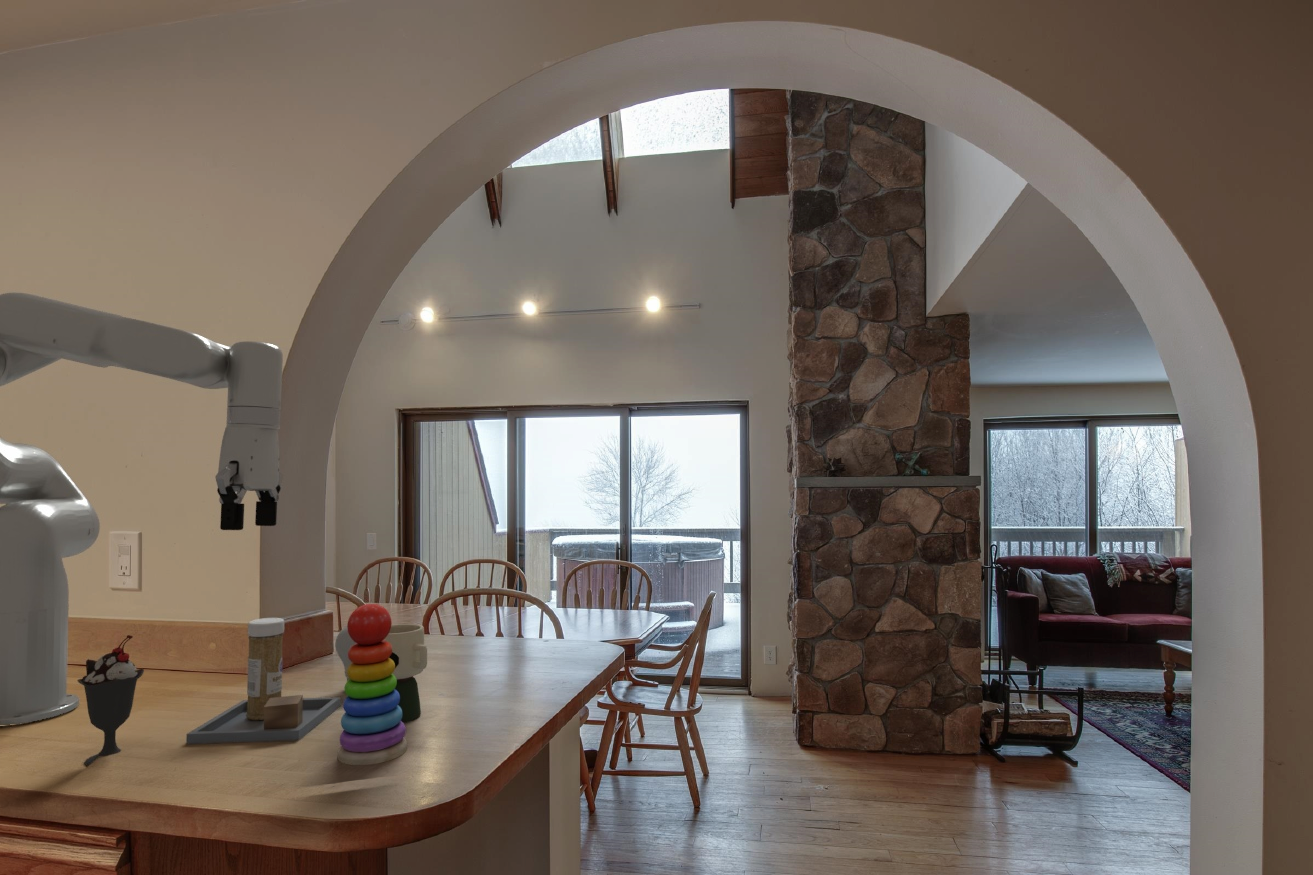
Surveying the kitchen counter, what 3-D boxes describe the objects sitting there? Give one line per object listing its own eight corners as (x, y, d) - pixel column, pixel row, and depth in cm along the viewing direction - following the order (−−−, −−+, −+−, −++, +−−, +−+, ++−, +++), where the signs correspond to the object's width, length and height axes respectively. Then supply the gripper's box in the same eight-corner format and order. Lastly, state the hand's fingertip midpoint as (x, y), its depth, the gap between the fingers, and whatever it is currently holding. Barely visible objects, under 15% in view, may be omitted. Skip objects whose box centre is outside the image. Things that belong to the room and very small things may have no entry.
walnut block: (263, 738, 94) (263, 706, 94) (269, 728, 98) (270, 697, 98) (297, 734, 95) (298, 703, 96) (302, 724, 99) (302, 694, 99)
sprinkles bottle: (284, 717, 102) (286, 620, 103) (246, 723, 100) (249, 624, 100) (279, 708, 106) (282, 615, 107) (243, 714, 104) (246, 618, 104)
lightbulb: (340, 701, 112) (340, 628, 112) (331, 692, 117) (331, 622, 117) (381, 693, 116) (381, 623, 116) (370, 685, 120) (370, 617, 121)
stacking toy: (373, 742, 94) (374, 596, 95) (421, 751, 91) (421, 600, 92) (322, 765, 87) (323, 607, 88) (372, 776, 84) (372, 611, 85)
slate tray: (186, 749, 93) (186, 733, 93) (243, 713, 107) (243, 699, 107) (298, 746, 93) (298, 730, 93) (340, 710, 107) (340, 697, 107)
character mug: (349, 724, 101) (349, 630, 102) (389, 709, 107) (390, 620, 108) (405, 737, 96) (405, 637, 97) (444, 720, 102) (444, 627, 103)
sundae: (147, 757, 90) (150, 635, 91) (79, 774, 85) (82, 644, 86) (137, 744, 95) (140, 627, 96) (72, 758, 90) (75, 636, 91)
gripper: (259, 423, 125) (255, 524, 124) (196, 415, 108) (191, 531, 107) (303, 424, 125) (299, 524, 124) (247, 415, 108) (242, 532, 107)
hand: (249, 527), depth 115 cm, fingers open, 9 cm apart
